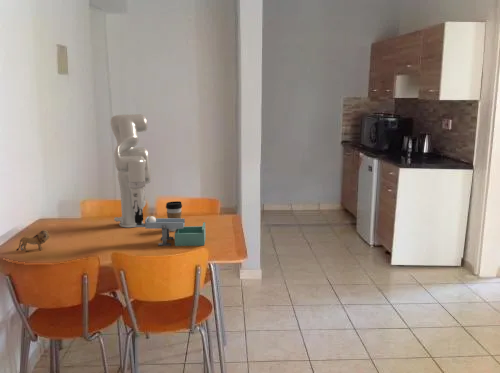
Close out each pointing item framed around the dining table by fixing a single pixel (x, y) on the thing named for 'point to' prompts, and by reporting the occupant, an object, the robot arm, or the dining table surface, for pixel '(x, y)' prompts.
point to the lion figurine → (34, 240)
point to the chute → (163, 223)
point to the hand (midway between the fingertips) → (139, 221)
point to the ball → (151, 219)
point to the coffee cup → (174, 210)
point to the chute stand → (165, 237)
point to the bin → (190, 236)
